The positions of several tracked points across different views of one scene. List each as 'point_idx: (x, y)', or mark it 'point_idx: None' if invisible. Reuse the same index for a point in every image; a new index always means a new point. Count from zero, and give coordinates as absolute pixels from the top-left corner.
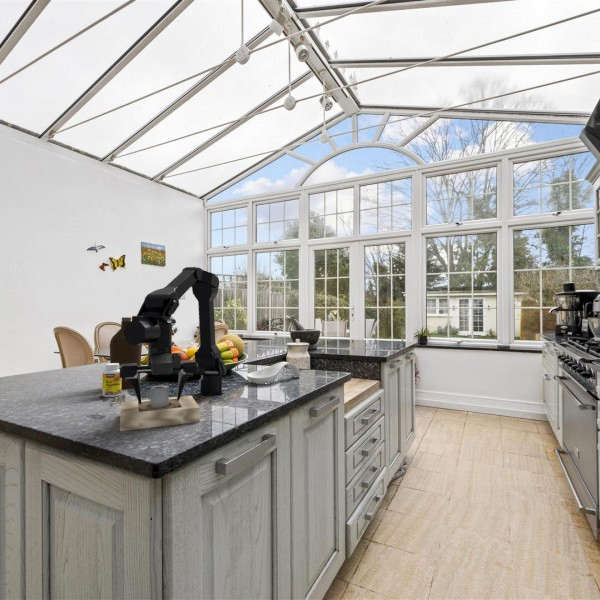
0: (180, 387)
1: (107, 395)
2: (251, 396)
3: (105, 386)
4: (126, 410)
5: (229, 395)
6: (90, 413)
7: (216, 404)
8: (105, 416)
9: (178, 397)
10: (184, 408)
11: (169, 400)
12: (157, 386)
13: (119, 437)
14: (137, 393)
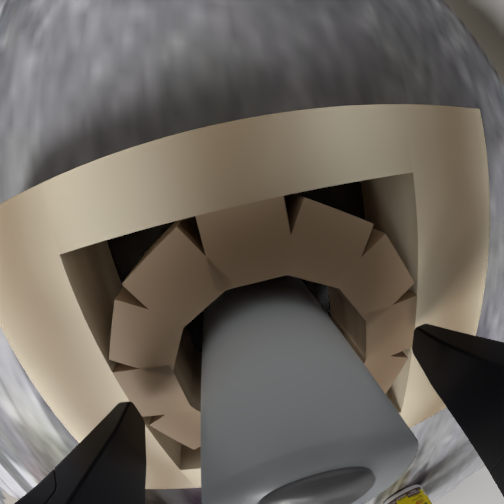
0: (71, 480)
1: (414, 487)
2: (7, 464)
3: (426, 500)
4: (470, 237)
5: None
6: None
7: (54, 446)
8: None
9: (117, 415)
10: (35, 211)
11: None
12: (341, 501)
13: (399, 30)
14: (496, 347)
